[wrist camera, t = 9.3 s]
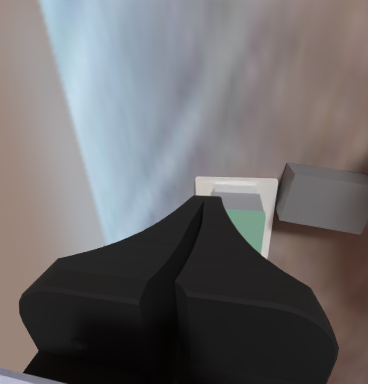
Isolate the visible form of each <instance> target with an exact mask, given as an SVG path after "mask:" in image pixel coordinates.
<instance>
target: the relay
mask: <svg viewBox="0 0 368 384" xmlns="http://www.w3.org/2000/svg"><path fill="white" fill-rule="evenodd" d="M275 208H276V211H277V214H278V217H279V220H280V221H286V222H291V223H297V224H303V225H308V226H314V227H320V228H325V229H331V230H337V231H342V232H348V233H354V234H359V235H361V233H362V231H363V230H364V228H365V226H366V224H367V222H368V175H366V174H363V173H356V172H349V171H342V170H335V169H328V168H321V167H314V166H307V165H299V164H292V163H287V164H286V167H285V171H284V174H283V177H282V180H281V183H280V187H279V190H278V193H277V196H276V202H275Z"/></svg>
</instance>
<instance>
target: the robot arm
mask: <svg viewBox="0 0 368 384" xmlns="http://www.w3.org/2000/svg"><path fill="white" fill-rule="evenodd" d="M19 313H20V316H21V318H22V321H23V323H24V325H25V327H26V328H27V330H28V332H29V334H30V336H31V338H32V339H33V341H34V343H35V345H36V346H37V348H38V350H39V351H38V353H37V354H36V356H35V357H34V358H33V359H32V361H31V362H30V364H29V365H28V366H27V368H26V369H25V371H24V372H23V373H20V372H16V371H12V370H8V369H4V368H0V384H327V381H328V379H329V377H330V374H331V372H332V369H333V367H334V365H335V362H336V360H337V356H338V349H339V347H338V344H337V341H336V338H335V335H334V332H333V329H332V327H331V325H330V322H329V320H328V318H327V316H326V314H325V312H324V311H323V309H322V307H321V305H320V303H319V302H318V300H317V298H316V296H315V295H314V293H313V291H312V289H311V288H310V287H308V286H307V285H305V284H303V283H302V282H300V281H298V280H297V279H295V278H294V277H292V276H290V275H289V274H287V273H285V272H284V271H282V270H281V269H279V268H278V267H277V266H275V265H274V264H273V263H271V262H270V261H268V260H267V259H266V258H265V257H263V256H262V255H261V254H260V253H259V252H258V251H257V250H255V249H254V248H253V247H252V246H251V245H250V244H249V243H248V242H247V241H246V240H245V238H244V237H243V236H242V235H241V234H240V232H239V231H238V230H237V228H236V227H235V225H234V224H233V222H232V221H231V219H230V217H229V216H228V214H227V212H226V210H225V208H224V205H223V202H222V198H221V197H220V196H201V195H194V196H192V197H191V198H190V199H189V200H187V201H186V202H185V203H184V204H183V205H181V206H180V207H179V208H178V209H176V210H175V211H174V212H172V213H171V214H170V215H168V216H167V217H165V218H164V219H162V220H161V221H159V222H158V223H156V224H154V225H153V226H151V227H149V228H147V229H145V230H144V231H142V232H139V233H137V234H135V235H133V236H130V237H128V238H126V239H123V240H121V241H118V242H116V243H113V244H110V245H107V246H104V247H101V248H98V249H95V250H91V251H87V252H83V253H79V254H75V255H72V256H68V257H63V258H58V259H57V260H56V261H55V262H54V263H53V264H52V265H51V266H50V267H49V268H48V269H47V270H46V271H45V272H44V273H43V274H42V275H41V276H40V277H39V278H38V279H37V280H36V281H35V282H34V283H33V284H32V285H31V286H30V287H29V288H28V289H27V290H26V291H25V292H24V293H23V294H22V296H21V298H20V300H19Z"/></svg>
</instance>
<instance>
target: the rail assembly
mask: <svg viewBox="0 0 368 384" xmlns="http://www.w3.org/2000/svg"><path fill="white" fill-rule="evenodd" d="M195 184H196V195H201V196H220V197H221V198H222V202H223V205H224V208H225V210H226V212H227V214H228V216H229V217H230V219H231V221H232V222H233V224H234V225H235V227H236V228H237V230H238V231H239V232H240V234H241V235H242V236H243V237H244V238H245V240H246V241H247V242H248V243H249V244H250V245H251V246H252V247H253V248H254V249H255V250H257V251H258V252H259V253H260V254H261V255H262V256H263V257H265V258H266V259H267V257H268V250H269V243H270V236H271V229H272V222H273V215H274V208H275V202H276V195H277V188H278V181H277V179H271V178H234V177H198V176H197V177H196V179H195Z"/></svg>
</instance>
